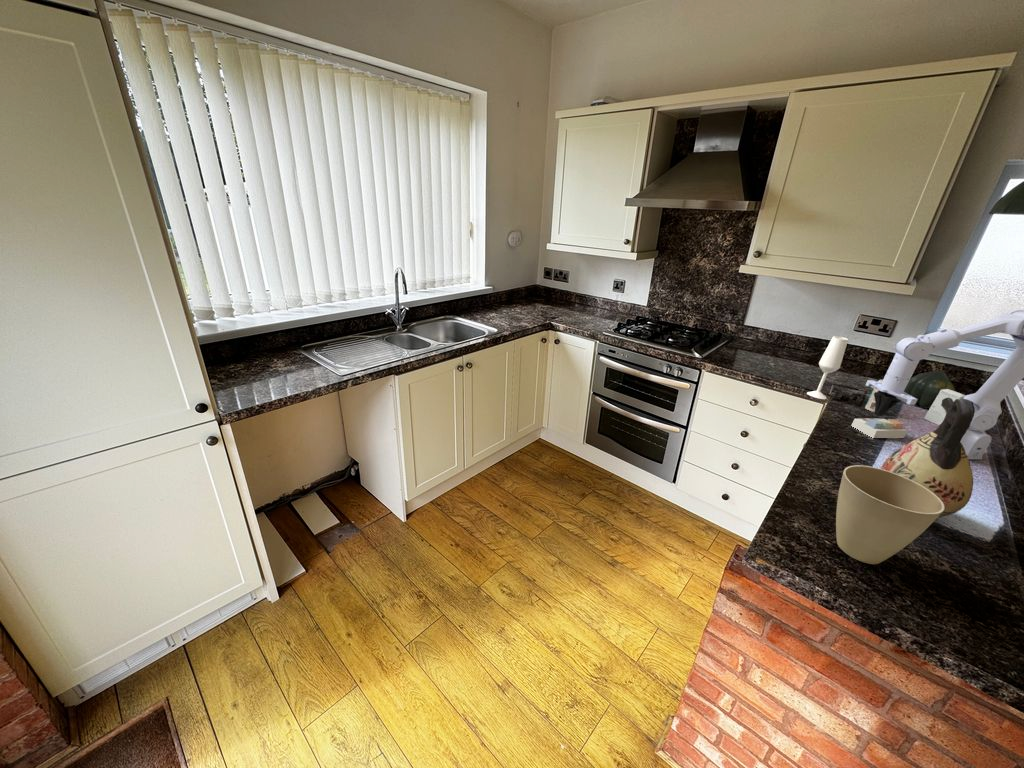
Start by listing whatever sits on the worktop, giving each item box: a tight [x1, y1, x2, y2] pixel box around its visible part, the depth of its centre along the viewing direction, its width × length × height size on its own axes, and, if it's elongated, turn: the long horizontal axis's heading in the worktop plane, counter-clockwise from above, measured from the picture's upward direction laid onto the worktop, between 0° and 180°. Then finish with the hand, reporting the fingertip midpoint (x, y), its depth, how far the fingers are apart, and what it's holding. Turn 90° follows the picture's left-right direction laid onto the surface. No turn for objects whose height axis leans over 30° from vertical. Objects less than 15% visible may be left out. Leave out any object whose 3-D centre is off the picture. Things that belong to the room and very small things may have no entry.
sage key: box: [878, 418, 894, 429], centre depth 135 cm, size 3×3×2 cm
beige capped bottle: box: [864, 378, 884, 413], centre depth 152 cm, size 5×5×12 cm
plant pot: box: [835, 464, 945, 565], centre depth 82 cm, size 15×15×16 cm
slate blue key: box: [865, 419, 884, 429], centre depth 135 cm, size 3×3×2 cm
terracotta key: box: [887, 418, 905, 429], centre depth 136 cm, size 3×3×2 cm
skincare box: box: [923, 389, 966, 426], centre depth 147 cm, size 6×4×12 cm
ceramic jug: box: [879, 397, 975, 523], centre depth 93 cm, size 17×15×30 cm
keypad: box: [850, 417, 909, 439], centre depth 137 cm, size 8×12×4 cm, turn 98°
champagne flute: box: [806, 335, 849, 400], centre depth 160 cm, size 7×7×24 cm
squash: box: [904, 370, 957, 409], centre depth 163 cm, size 14×15×15 cm
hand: (878, 414), depth 133 cm, fingers closed
